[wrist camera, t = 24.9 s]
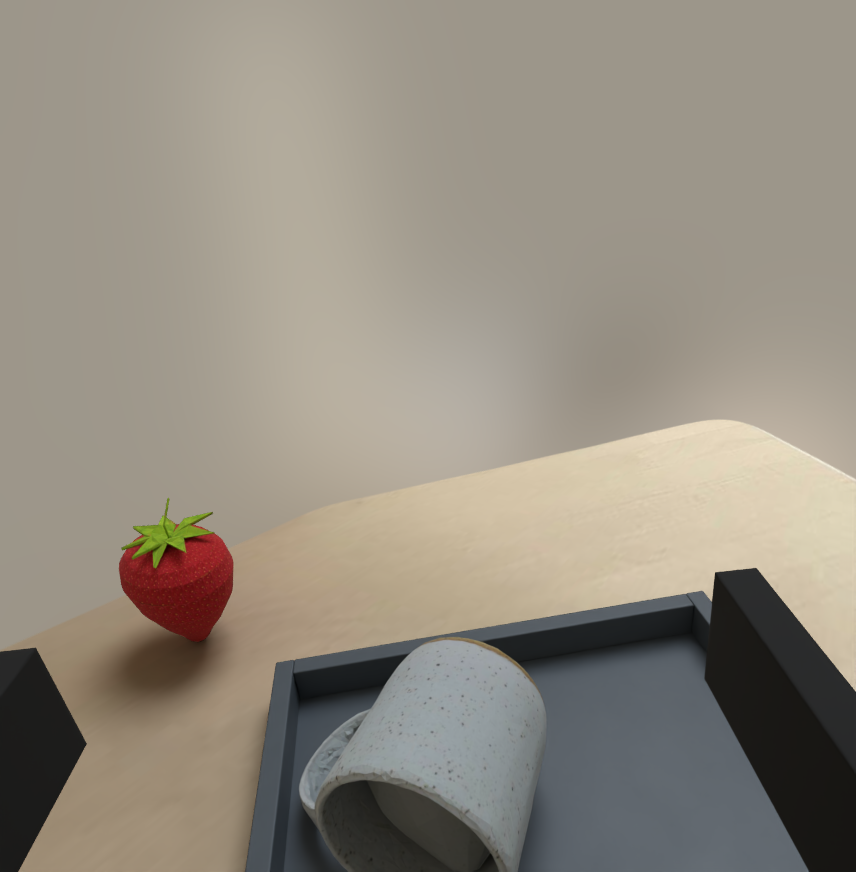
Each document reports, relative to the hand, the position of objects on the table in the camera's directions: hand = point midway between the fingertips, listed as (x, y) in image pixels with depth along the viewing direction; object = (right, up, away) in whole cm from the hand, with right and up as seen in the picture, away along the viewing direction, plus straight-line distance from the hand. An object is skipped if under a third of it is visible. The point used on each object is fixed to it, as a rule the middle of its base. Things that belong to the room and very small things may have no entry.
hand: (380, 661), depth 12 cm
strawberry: (-14, -9, +28) cm, 32 cm away
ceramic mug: (+1, -12, +15) cm, 19 cm away
